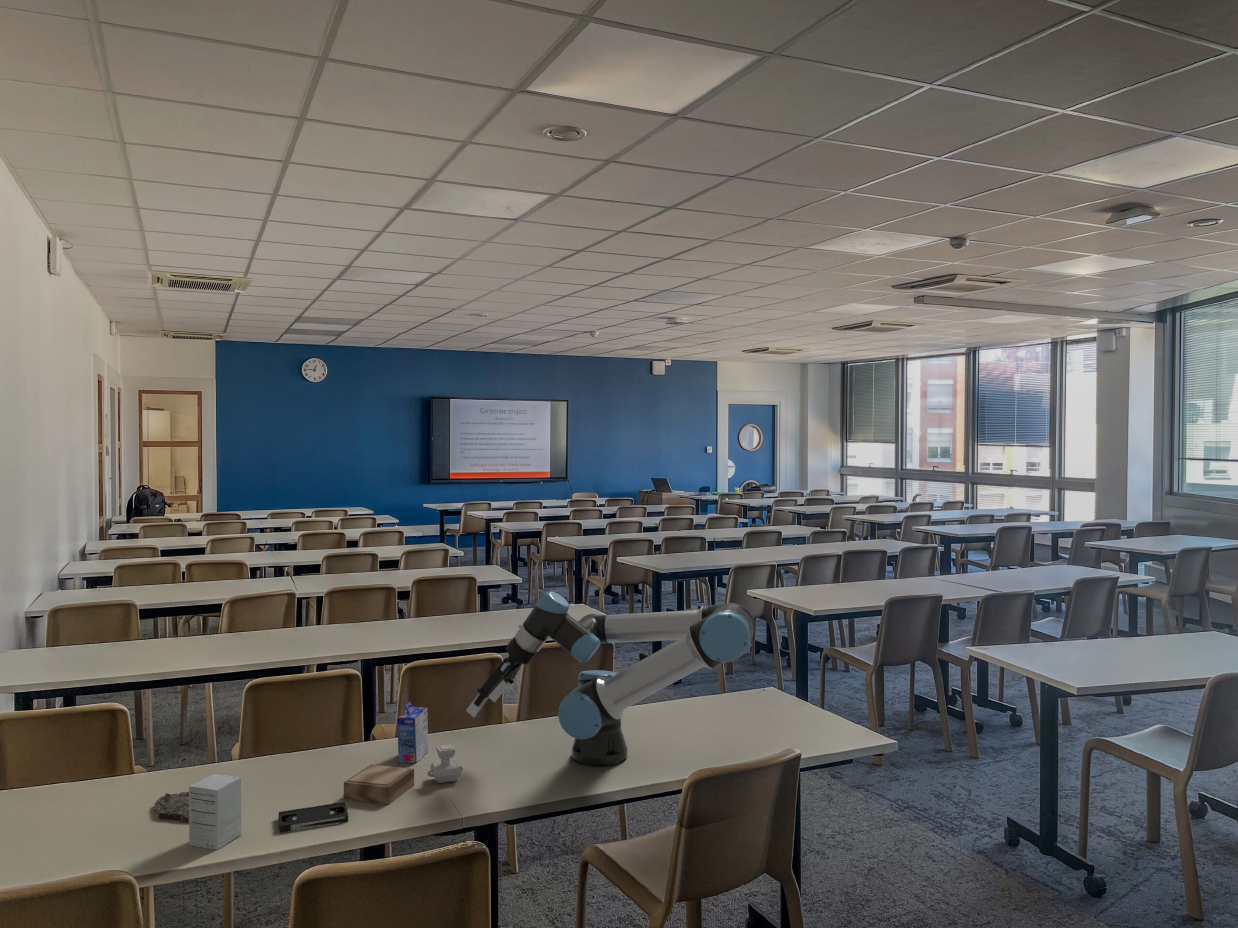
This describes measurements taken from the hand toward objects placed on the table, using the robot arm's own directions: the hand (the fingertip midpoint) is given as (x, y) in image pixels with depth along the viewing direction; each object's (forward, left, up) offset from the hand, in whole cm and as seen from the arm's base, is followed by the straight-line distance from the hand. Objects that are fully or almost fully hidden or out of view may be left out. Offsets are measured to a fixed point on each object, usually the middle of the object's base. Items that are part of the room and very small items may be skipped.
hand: (481, 706), depth 222 cm
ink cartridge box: (+20, 0, -16) cm, 25 cm away
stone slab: (+54, +45, -16) cm, 72 cm away
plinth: (+16, +24, -15) cm, 32 cm away
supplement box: (+36, +56, -16) cm, 68 cm away
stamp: (+4, +13, -16) cm, 20 cm away
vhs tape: (+22, +42, -16) cm, 50 cm away
